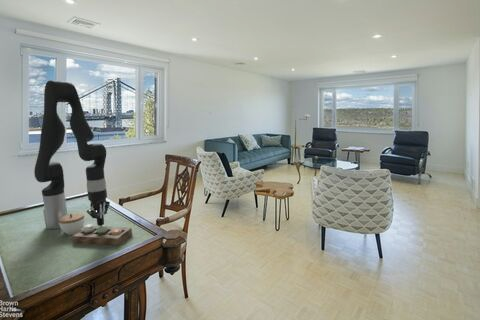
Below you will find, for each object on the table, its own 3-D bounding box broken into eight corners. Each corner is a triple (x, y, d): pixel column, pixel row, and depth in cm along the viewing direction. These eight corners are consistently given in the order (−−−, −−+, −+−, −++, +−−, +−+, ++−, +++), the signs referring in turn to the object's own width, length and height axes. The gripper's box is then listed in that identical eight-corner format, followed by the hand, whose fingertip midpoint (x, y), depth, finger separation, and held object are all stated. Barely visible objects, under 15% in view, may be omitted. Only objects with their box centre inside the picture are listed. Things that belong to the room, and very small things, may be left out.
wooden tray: (73, 243, 121) (72, 235, 120) (90, 232, 132) (89, 225, 131) (118, 245, 117) (117, 238, 117) (132, 234, 128) (131, 227, 127)
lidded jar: (59, 238, 126) (56, 219, 124) (61, 230, 135) (58, 212, 133) (85, 233, 130) (83, 215, 129) (86, 225, 140) (83, 208, 138)
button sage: (95, 233, 122) (94, 228, 122) (101, 229, 126) (100, 224, 126) (103, 234, 121) (103, 229, 121) (110, 229, 126) (109, 225, 125)
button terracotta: (109, 237, 121) (108, 232, 121) (115, 233, 125) (115, 228, 125) (118, 238, 120) (117, 233, 120) (124, 234, 125) (123, 229, 124)
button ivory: (81, 232, 123) (80, 227, 123) (88, 228, 127) (87, 223, 127) (89, 233, 122) (89, 228, 122) (96, 229, 127) (95, 224, 126)
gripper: (99, 184, 128) (102, 219, 131) (78, 192, 115) (83, 231, 118) (113, 184, 127) (117, 219, 130) (94, 193, 114) (98, 232, 117)
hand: (100, 225), depth 124 cm, fingers closed
